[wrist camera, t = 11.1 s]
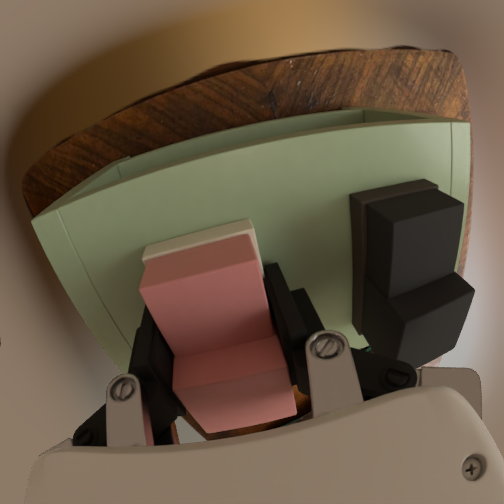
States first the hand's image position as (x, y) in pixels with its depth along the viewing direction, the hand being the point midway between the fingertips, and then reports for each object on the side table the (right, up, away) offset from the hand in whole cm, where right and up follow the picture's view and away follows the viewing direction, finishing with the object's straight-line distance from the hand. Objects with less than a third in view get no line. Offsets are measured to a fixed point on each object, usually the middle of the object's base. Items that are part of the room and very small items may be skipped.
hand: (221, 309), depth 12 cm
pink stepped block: (0, 0, 0) cm, 0 cm away
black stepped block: (+8, +2, +1) cm, 8 cm away
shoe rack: (+1, +7, +11) cm, 13 cm away
